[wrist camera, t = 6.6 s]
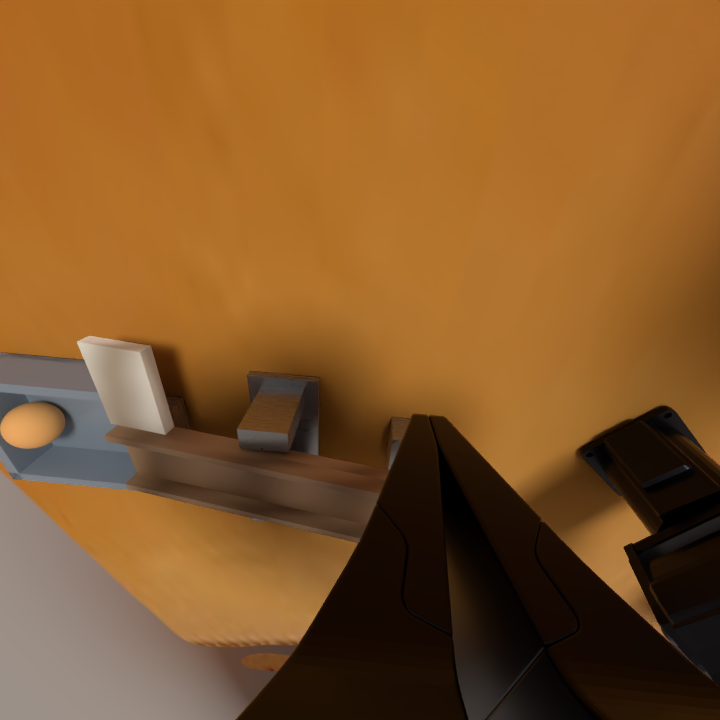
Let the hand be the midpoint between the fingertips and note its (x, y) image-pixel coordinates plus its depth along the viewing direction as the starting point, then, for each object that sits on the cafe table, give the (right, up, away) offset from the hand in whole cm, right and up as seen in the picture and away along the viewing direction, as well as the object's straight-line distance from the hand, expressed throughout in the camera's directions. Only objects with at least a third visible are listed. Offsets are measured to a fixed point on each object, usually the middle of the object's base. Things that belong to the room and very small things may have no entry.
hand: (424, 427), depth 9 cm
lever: (-8, -3, +13) cm, 15 cm away
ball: (-26, -3, +15) cm, 30 cm away
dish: (-23, -2, +17) cm, 29 cm away
